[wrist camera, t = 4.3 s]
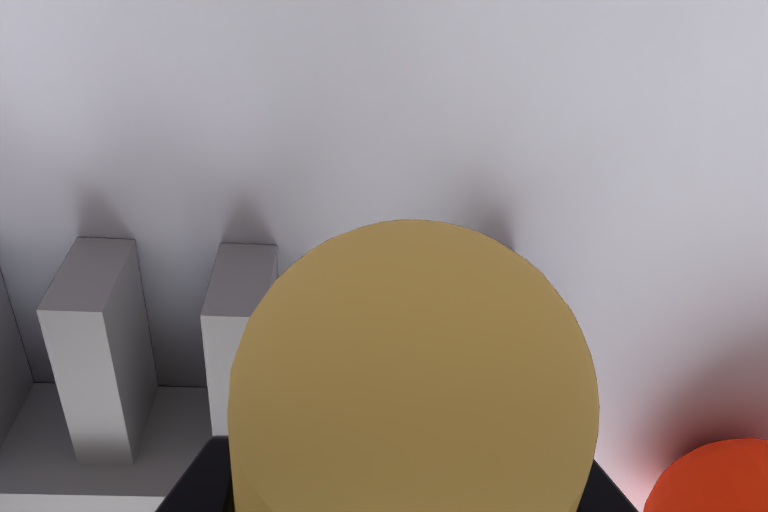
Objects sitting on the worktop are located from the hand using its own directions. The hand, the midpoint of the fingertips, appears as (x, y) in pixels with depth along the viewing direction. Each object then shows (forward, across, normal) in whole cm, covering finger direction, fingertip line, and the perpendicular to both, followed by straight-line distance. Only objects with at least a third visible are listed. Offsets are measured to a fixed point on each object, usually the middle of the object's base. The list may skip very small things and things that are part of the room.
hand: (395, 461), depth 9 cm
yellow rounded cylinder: (+1, 0, +3) cm, 3 cm away
